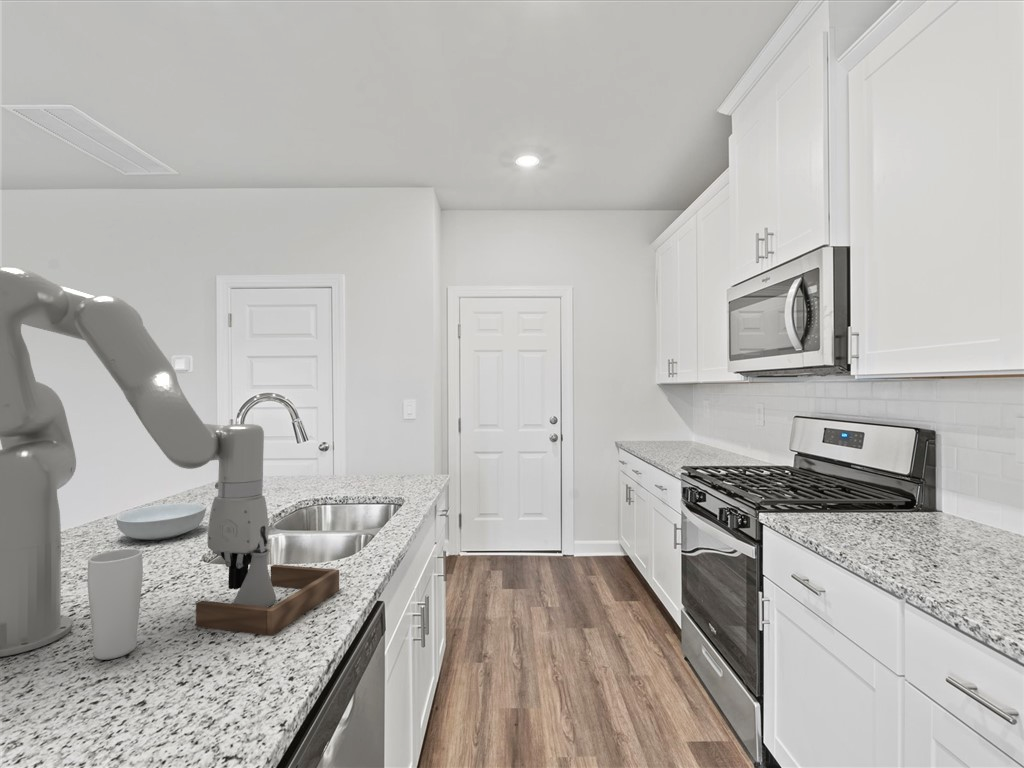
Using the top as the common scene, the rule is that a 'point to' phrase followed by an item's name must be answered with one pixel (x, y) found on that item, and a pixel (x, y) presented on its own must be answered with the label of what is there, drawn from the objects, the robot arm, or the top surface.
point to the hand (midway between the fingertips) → (238, 586)
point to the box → (271, 620)
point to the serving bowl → (161, 520)
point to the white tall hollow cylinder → (115, 601)
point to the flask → (257, 583)
